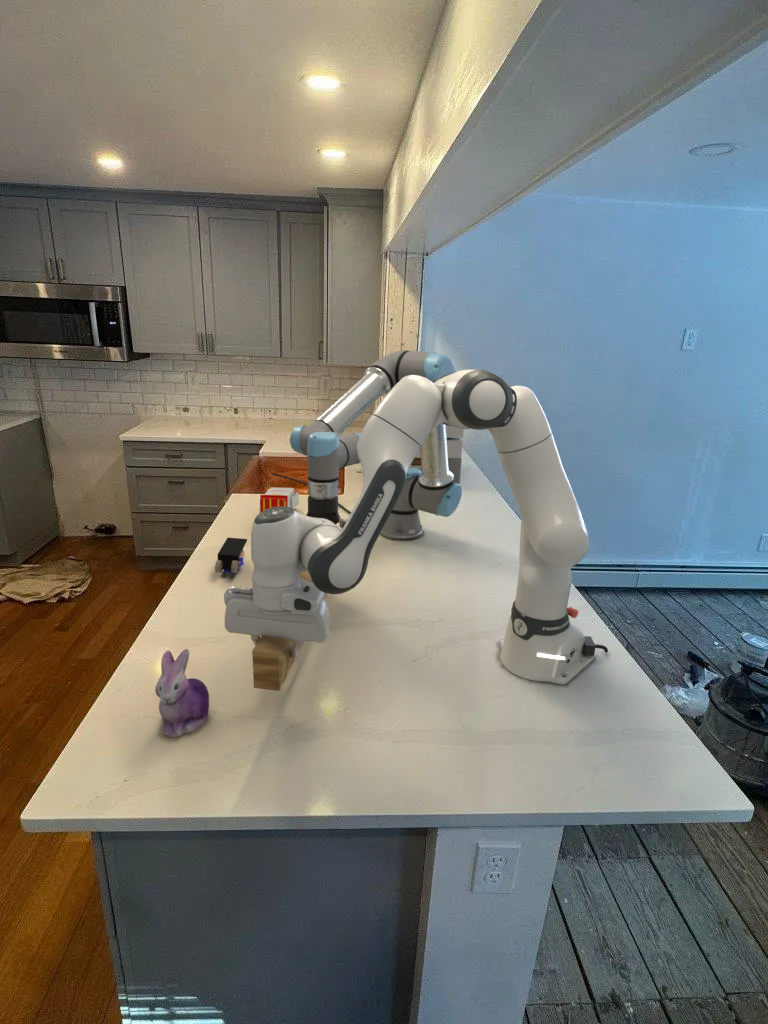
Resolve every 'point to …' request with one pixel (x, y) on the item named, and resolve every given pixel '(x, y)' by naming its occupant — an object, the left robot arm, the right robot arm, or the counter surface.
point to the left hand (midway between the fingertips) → (322, 579)
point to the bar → (273, 658)
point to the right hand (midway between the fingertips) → (278, 654)
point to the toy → (279, 498)
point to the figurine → (180, 697)
